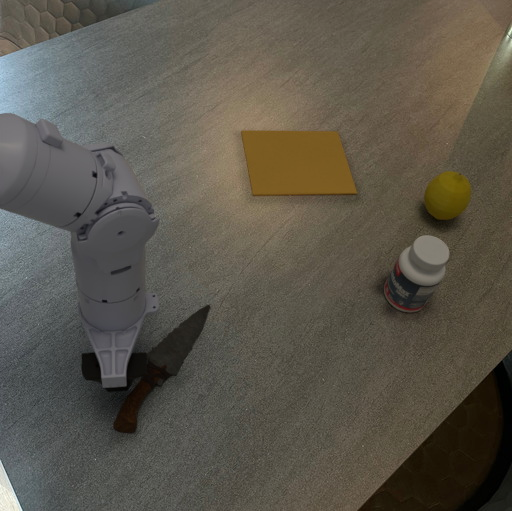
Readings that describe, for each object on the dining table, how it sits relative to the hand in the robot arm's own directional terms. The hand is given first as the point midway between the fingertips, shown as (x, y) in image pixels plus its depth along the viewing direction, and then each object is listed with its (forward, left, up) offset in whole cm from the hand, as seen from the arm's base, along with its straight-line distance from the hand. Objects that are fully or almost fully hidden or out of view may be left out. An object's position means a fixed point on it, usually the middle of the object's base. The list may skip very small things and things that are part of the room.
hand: (117, 352), depth 63 cm
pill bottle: (+33, +6, -1) cm, 34 cm away
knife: (+5, -1, -1) cm, 5 cm away
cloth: (+24, +28, -1) cm, 37 cm away
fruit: (+41, +18, -1) cm, 45 cm away
